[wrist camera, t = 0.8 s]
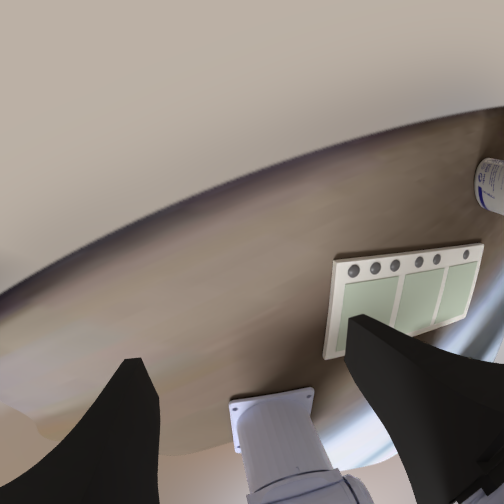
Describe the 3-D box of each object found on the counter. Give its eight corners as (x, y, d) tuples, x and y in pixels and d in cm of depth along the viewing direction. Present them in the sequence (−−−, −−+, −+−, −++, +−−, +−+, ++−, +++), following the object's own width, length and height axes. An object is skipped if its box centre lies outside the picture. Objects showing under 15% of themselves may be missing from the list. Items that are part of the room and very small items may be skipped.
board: (462, 315, 27) (465, 318, 26) (322, 355, 24) (325, 360, 23) (480, 242, 24) (484, 244, 23) (333, 260, 21) (337, 263, 20)
